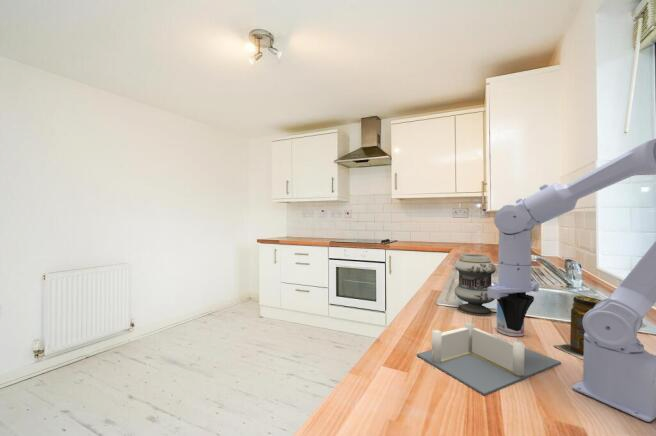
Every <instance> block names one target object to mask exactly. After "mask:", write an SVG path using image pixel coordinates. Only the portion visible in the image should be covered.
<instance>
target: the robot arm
mask: <svg viewBox="0 0 656 436" xmlns="http://www.w3.org/2000/svg"><path fill="white" fill-rule="evenodd" d="M650 175H651V176H655V175H656V137H654V138H652V139H649V140H646V141H645V142H643V143H641V144H639V145H637V146H635V147H633V148H632V149H630V150H628V151H626V152H624V153H622V154H620V155H619V156H617V157H614V158H612V159H611V160H609V161H607V162H606V163H604V164H601V166H599V167H596V168H595V169H593V170H592V171H589V172H587V173H586V174H584V175H582V176H580V177H578V178H577V179H575V180H573V181H571V182H570V183H567V184H561V183H552V184H550V185H549V184H546V183H545V184H543V185H541V186H539V191H537V192H535V193H533V194H531V195H529V196H527V197H526V198H523V199H522V198H519V199H517V200H515V203H516V204H505V205H502V207H501V208H499V209H498V210H497V211H496V212H495V214H494V218H493V220H494V225H495V227H496V228H497V230H498V255H497V256H498V277H497V279H498V280H496V281H493V285H492V287H488V297H490V298H494V299H495V300H496V302H497V301H498V302H499V304H500V306H501V309H502V311H503V314H504V318H505V321H506V325H507V328H508V329H511V330H514V331H520V330H521V328H522V325H523V322H524V323H525V318H526V314H527V312H528V310H529V308H530V306H531V305H532V304H533V303H534V301H535V296H534V295H531V294H530V295H529V294H527V293H531V292H540V291H539V289H540V285H539V284H540V283H539V282H537V281H532V239H531V235H532V233H531V232H532V230H533V229H534V228H535V226H537V225H539V226H540V225H542V224H544V223H546V222H549V221H550V220H553V219H555V218H558V217H559V216H562V215H564V214H566V213H569V212H571V211H573V210H575V208H576V205H577V202H578V201H579V200H580V199H583V198H584V197H586V196H589V195H591V194H594V193H596V192H599V191H601V190H603V189H605V188H608V187H609V186H613V185H615V184H617V183H619V182H622V181H624V180H626V179H629V178H631V177H634V176H635V177H636V176H650ZM600 300H601V301H599V302H598V303H597V304H596V305H595V306H594V308H593V309H591V310H589V311H588V312H587V313H586V314H585V315H584V317H583V321H582V322H583V328H584V330H585V332H586V333H584V360H583V371H582V372H583V374H582V375H583V376H582V380H581V381H579V382H577V383H575V384H573V385H572V386H571V388H572V389H573V390H574V391H576V392H578V393H580V394H583V395H586V396H588V397H590V398H591V399H595V400H597V401H599V402H601V403H604V404H606V405H608V406H610V407H613V408H616V409H618V410H619V411H622V412H624V413H626V414H629V415H631V416H633V417H634V418H638V419H639V420H643V421H645V422H648V423H650V422H652V421H654V419H656V355H654V354H653V353H651V352H649V351H647V350H645V346H644V343H642V342H641V341H640V340H639V339H638V333H639V331H640V330H641V328H642V327H643V323H644V322H643V319H644V318H645V316H646V315H647V314H648V313H649V312H650V310H651V309H652V308H653V306H654V305H655V304H656V240H655V241H654V242H653V244H652V245H651V246H650V247H649V249H648V250H647V251H646V252H645V253H644V254H643V256H642V257H641V258H640V260H639V261H638V262H637V263H636V264H635V265H634V267H633V268H632V269H631V271H630V272H628V274H627V276H626V277H625V278H623V280H622V281H621V283H619V285H618V286H617V288H616V289H614V291H613V292H612V293H611V294H610V296H609V297H607V298H604V299H600Z"/></svg>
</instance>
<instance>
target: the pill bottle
mask: <svg viewBox="0 0 656 436" xmlns="http://www.w3.org/2000/svg"><path fill="white" fill-rule="evenodd" d="M496 331H498V333H500V334H503V335H505V336H510V337H523V336H524V334H525V321H524V322H523V325H522V328H521V330H520V331H514V330H511V329H508V328H507V325H506V321H505V318H504V314H503V311H502V309H501V306H500V304H499V302H498V301H497V300H496Z"/></svg>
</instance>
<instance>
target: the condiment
mask: <svg viewBox="0 0 656 436" xmlns="http://www.w3.org/2000/svg"><path fill="white" fill-rule="evenodd" d="M572 300H573V303H572V308H571V309H570V330H569V331H570V334H569V335H570V342H569V344H565V343H563V344H555V345H552V346H553V347H555V348H557V349H559V350H560V351H562V352H565V353H568V354H569V355H571V356H573V357H576V358H578V359H580V360H583V361H584V333H586V332H585V330H584V328H583V322H582V321H583V317H584V315H585V314H586V313H587V312H588V311H589V310H591V309H593V308H594V306H595V305H596V304H597V303H598V302H599V301H601V300H602V299H599V298H595V297H589V296H583V295H582V296H578V295H577V296H574V297H573V299H572Z"/></svg>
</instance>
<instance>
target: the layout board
mask: <svg viewBox="0 0 656 436" xmlns="http://www.w3.org/2000/svg"><path fill="white" fill-rule="evenodd" d="M416 356H417V357H418V358H419V359H421V360H423V361H425V362H426V363H428V364H430V365H431V366H433V367H435V368H436V369H438V370H440V371H441V372H444V373H445V374H446V375H448V376H450V377H451V378H454V379H455V380H457V381H459V382H460V383H461V384H463V385H465V386H467V387H469V388H470V389H472V390H473V391H476V392H477V393H478V394H480V395H482V396H487V395H490V394H493V393H494V392H497V391H499V390H502V389H504V388H507V387H508V386H511V385H514V384H516V383H519V382H520V381H523V380H525V379H528V378H530V377H533V376H535V375H538V374H540V373H542V372H544V371H548V370H549V369H552V368H554V367H556V366H559V365H561V364H562V362H561V361H559V360H557V359H555V358H552V357H550V356H547V355H544V354H542V353H539V352H536V351H533V350H531V349H528V348H526V347H525V348H524V375H517V374H515V373H513V372H512V371H510V370H508V369H506V368H504V367H502V366H500V365H498V364H496V363H493V362H491V361H489V360H487V359H485V358H483V357H481V356H479V355H477V354H475V353H471V352H468V353H466V354H462V355H459V356H456V357H452V358H449V359H446V360H442V361H441V363H435V362H433V361H432V349H429V350H427V351H422V352H419V353H416Z"/></svg>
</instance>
